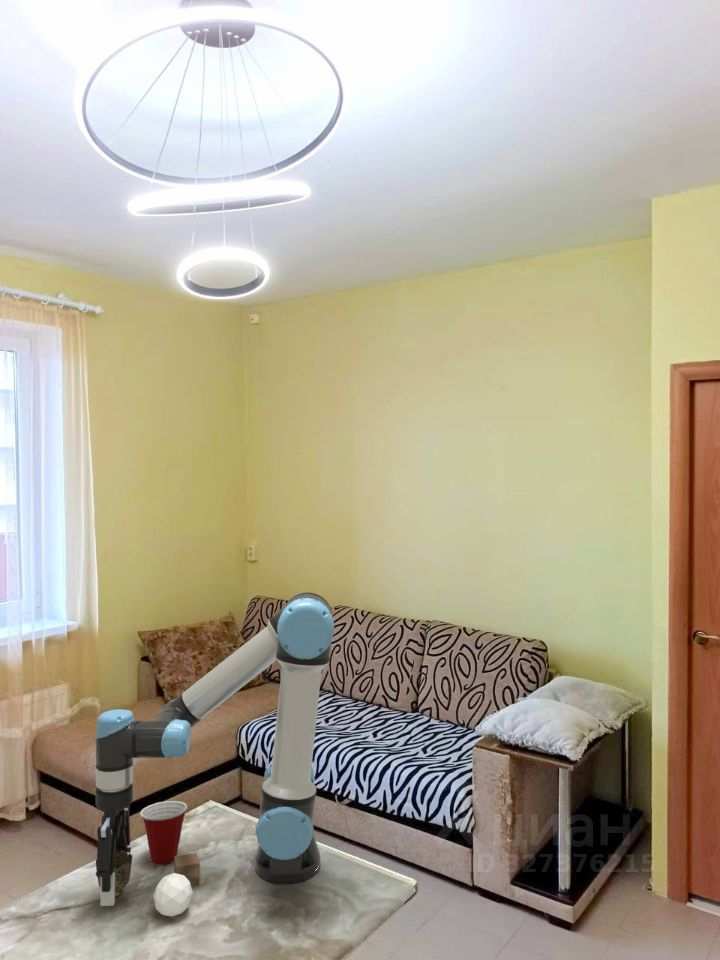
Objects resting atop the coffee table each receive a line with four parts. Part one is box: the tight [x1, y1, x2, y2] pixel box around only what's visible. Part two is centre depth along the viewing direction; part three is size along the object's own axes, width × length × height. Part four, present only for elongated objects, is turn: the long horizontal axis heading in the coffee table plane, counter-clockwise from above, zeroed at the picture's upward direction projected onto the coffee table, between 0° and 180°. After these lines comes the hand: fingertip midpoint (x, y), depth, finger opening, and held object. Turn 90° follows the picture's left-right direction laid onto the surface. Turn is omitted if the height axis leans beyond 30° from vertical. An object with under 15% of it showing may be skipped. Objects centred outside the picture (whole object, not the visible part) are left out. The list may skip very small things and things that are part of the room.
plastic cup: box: [140, 800, 188, 866], centre depth 170 cm, size 11×11×12 cm
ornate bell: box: [95, 850, 134, 900], centre depth 152 cm, size 8×7×8 cm
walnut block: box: [173, 852, 201, 888], centre depth 160 cm, size 5×5×5 cm
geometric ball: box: [152, 872, 194, 918], centre depth 148 cm, size 8×8×8 cm
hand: (113, 894), depth 152 cm, fingers closed on ornate bell, 7 cm apart
